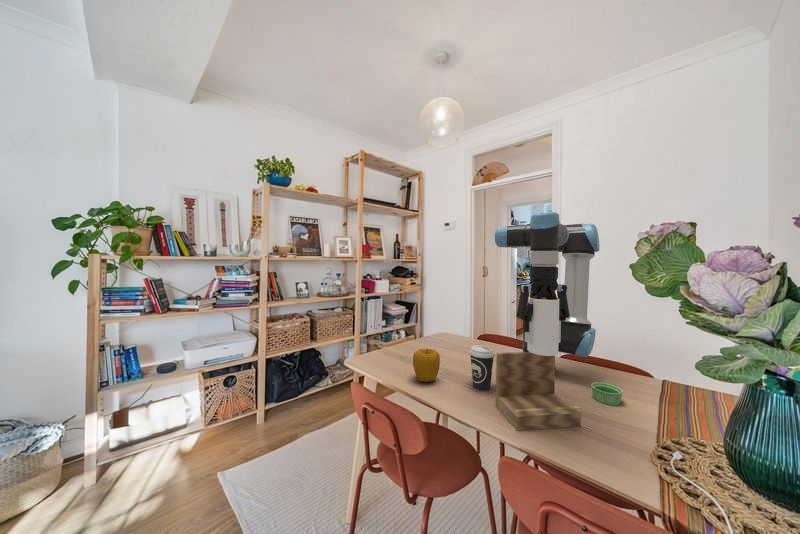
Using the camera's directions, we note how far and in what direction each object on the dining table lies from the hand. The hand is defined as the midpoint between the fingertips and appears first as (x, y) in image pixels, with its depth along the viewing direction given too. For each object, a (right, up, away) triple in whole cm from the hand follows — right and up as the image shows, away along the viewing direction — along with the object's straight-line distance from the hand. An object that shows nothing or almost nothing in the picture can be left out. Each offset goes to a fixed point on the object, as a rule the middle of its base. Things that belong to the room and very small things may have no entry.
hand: (542, 341), depth 84 cm
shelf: (0, -25, +5) cm, 25 cm away
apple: (-32, -24, +30) cm, 50 cm away
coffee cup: (-11, -24, +25) cm, 36 cm away
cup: (0, -3, 0) cm, 3 cm away
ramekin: (+30, -25, +16) cm, 42 cm away
